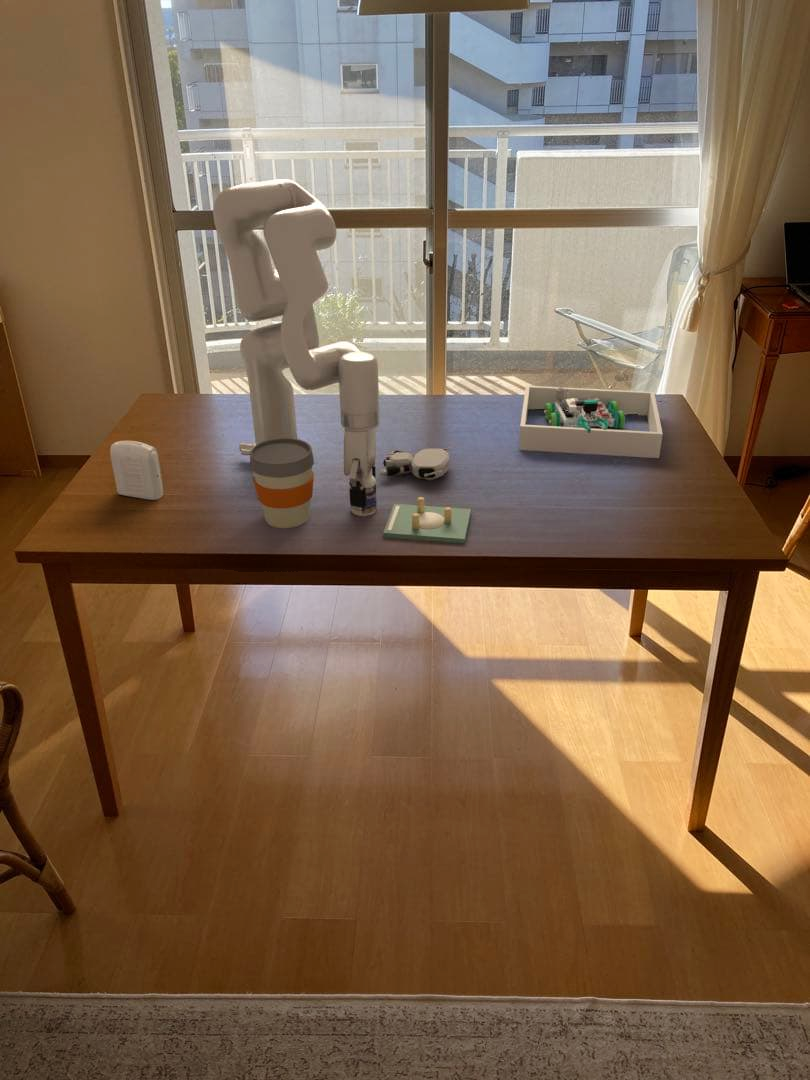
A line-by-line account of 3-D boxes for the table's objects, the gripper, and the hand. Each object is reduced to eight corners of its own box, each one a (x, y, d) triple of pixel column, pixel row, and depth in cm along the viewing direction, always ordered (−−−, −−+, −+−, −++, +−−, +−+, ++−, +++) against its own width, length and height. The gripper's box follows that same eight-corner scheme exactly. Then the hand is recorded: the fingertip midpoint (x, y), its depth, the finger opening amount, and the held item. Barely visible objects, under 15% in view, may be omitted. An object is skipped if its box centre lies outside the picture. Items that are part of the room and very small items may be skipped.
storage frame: (518, 449, 205) (520, 426, 202) (524, 407, 227) (525, 385, 224) (659, 458, 200) (662, 434, 197) (650, 414, 222) (654, 391, 219)
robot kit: (560, 454, 202) (563, 416, 197) (540, 412, 224) (542, 377, 219) (639, 451, 203) (644, 413, 198) (612, 409, 224) (616, 375, 220)
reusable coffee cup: (304, 536, 172) (299, 467, 164) (246, 528, 175) (237, 460, 167) (326, 506, 182) (322, 440, 175) (271, 499, 185) (264, 434, 178)
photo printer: (167, 493, 189) (158, 440, 182) (157, 502, 185) (147, 449, 179) (126, 487, 191) (115, 435, 185) (114, 495, 188) (104, 443, 181)
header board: (383, 537, 171) (382, 519, 169) (394, 507, 182) (393, 490, 180) (464, 543, 169) (465, 525, 167) (470, 513, 179) (471, 496, 177)
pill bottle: (367, 519, 178) (365, 476, 173) (345, 512, 180) (343, 470, 175) (381, 508, 182) (380, 466, 177) (360, 502, 184) (358, 460, 179)
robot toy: (378, 486, 192) (445, 487, 189) (376, 467, 190) (444, 468, 187) (390, 462, 202) (454, 462, 199) (388, 444, 200) (453, 444, 197)
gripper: (350, 399, 178) (354, 474, 187) (330, 433, 163) (335, 513, 172) (387, 400, 177) (389, 476, 186) (370, 435, 162) (372, 516, 171)
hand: (363, 494), depth 179 cm, fingers open, 9 cm apart
